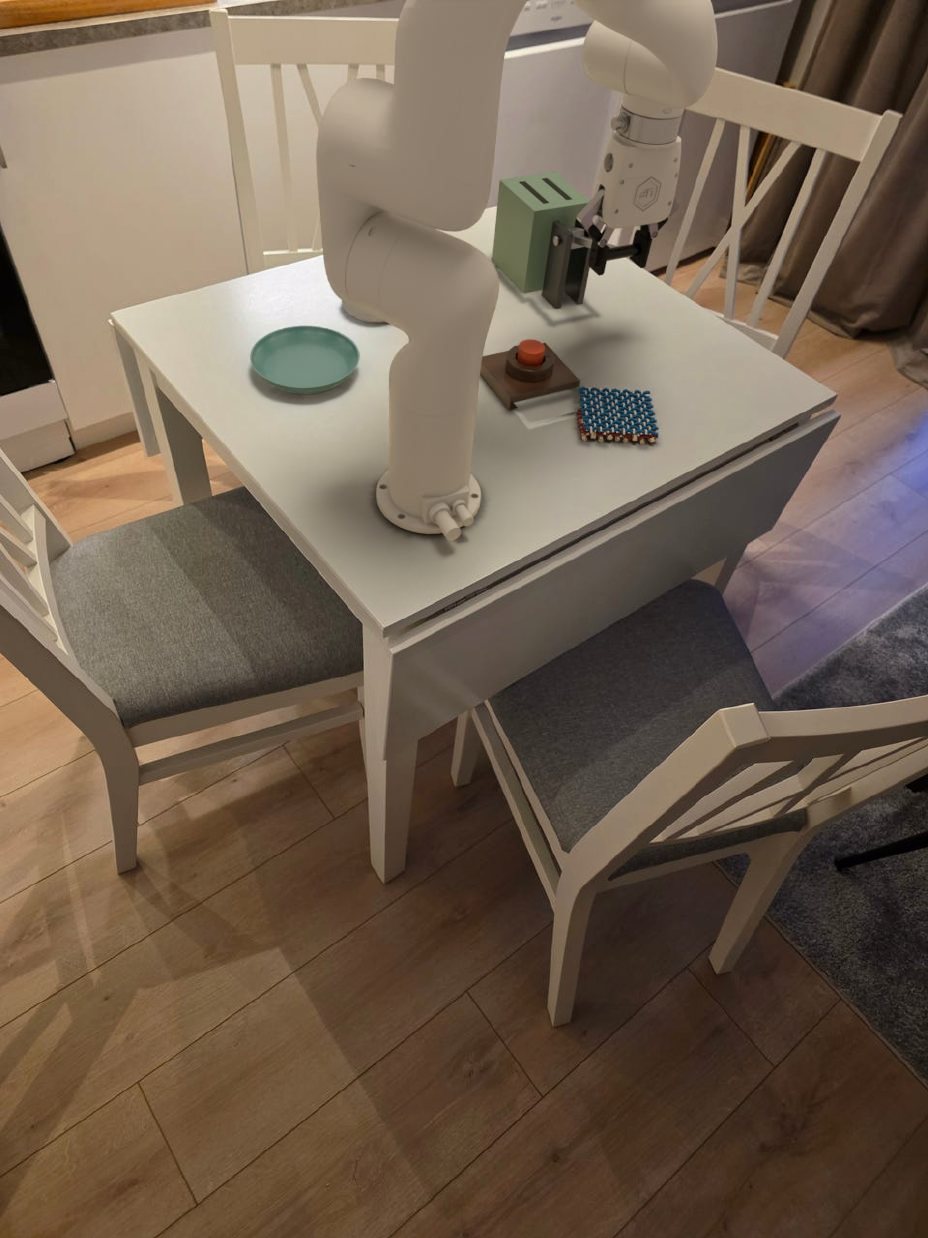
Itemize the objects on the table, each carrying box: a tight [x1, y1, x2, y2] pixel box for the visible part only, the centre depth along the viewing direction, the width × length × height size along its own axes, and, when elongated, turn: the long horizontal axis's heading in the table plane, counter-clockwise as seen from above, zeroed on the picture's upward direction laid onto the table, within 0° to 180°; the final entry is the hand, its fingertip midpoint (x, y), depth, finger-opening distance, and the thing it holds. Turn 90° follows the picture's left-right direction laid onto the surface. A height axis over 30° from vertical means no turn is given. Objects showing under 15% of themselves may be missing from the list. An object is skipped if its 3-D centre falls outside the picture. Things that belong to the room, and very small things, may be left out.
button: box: [517, 338, 545, 366], centre depth 112 cm, size 4×4×2 cm
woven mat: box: [576, 385, 659, 446], centre depth 111 cm, size 10×11×2 cm
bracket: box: [541, 218, 591, 310], centre depth 125 cm, size 8×8×13 cm
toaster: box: [491, 171, 591, 294], centre depth 129 cm, size 11×10×14 cm
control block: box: [480, 342, 581, 411], centre depth 114 cm, size 10×11×4 cm
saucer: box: [249, 325, 361, 395], centre depth 113 cm, size 15×15×3 cm
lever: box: [567, 227, 641, 262], centre depth 117 cm, size 14×6×2 cm, turn 26°
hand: (616, 265), depth 114 cm, fingers closed on lever, 6 cm apart
